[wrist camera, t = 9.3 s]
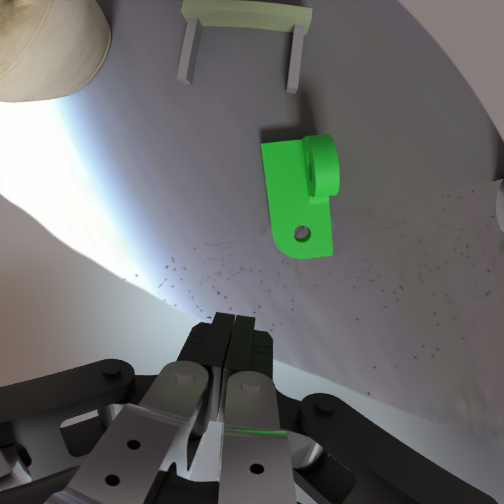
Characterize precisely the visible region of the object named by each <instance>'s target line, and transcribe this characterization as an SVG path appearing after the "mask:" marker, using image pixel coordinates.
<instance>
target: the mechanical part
mask: <svg viewBox="0 0 504 504" xmlns="http://www.w3.org/2000/svg"><path fill="white" fill-rule="evenodd" d="M261 148H262V155H263V163H264V171H265V178H266V186H267V194H268V202H269V210H270V218H271V227H272V235H273V239H274V241H275V244H276V245H277V247H278V248H279V249H280V250H281V251H282V252H283V253H284V254H286V255H288V256H290V257H292V258H297V259H306V258H314V257H323V256H331V255H333V248H332V234H331V221H330V209H329V196H332V195H337V193H338V190H339V179H340V177H339V162H338V156H337V151H336V147H335V144H334V141H333V139H332V137H331V136H330V135H329V134H325V135H312V136H305V137H304V138H303V139H302V140H291V141H282V142H272V143H264V144H261ZM300 225H305V226H307V227H308V228H309V232H308V235H307V236H306V237H305V238H302V239H298V238H296V237H294V235H293V233H294V230H295V228H296V227H298V226H300Z"/></svg>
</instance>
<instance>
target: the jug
mask: <svg viewBox="0 0 504 504" xmlns="http://www.w3.org/2000/svg"><path fill="white" fill-rule="evenodd" d="M110 44H111V30H110V27H109V24H108V22H107V20H106V18H105V16H104V14H103V12H102V10H101V8H100V7H99V5H98V4H97V2H96V0H0V101H1V102H29V101H39V100H49V99H55V98H59V97H64V96H68V95H70V94H72V93H74V92H76V91H78V90H79V89H80V88H82V87H83V86H85V85H86V84H87V83H88V82H89V81H90V80H91V79H92V78H93V77H94V75H95V74H96V73H97V72H98V70H99V69H100V67H101V66H102V64H103V62H104V61H105V59H106V56H107V54H108V51H109V48H110Z"/></svg>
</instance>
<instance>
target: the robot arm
mask: <svg viewBox="0 0 504 504" xmlns="http://www.w3.org/2000/svg"><path fill="white" fill-rule="evenodd" d="M496 214H497V220H498V223H499V226H500V228H501V230H502V232H503V233H504V179H503V181H502V183H501V185H500V188H499V190H498V195H497V201H496ZM254 326H255V317H248V316H241V315H237V316H236V320H235V315H233V314H227V313H220V312H216V314H215V317H214V319H213V322H212V324H210V323H204V322H200V323H199V324H198V325H196V326H194V327H193V328H192V330H191V332H190V334H189V336H188V338H187V340H186V342H185V344H184V346H183V348H182V350H181V352H180V354H179V356H178V358H177V361H175V362H172V363H169V364H167V365H166V366H165V367H164V368H163V369H162V370H161V372H160V374H158V375H135V372H134V369H133V367H132V366H131V365H130V364H129V363H127V362H125V361H122V360H118V359H105V360H101V361H97V362H94V363H90V364H87V365H84V366H80V367H77V368H73V369H69V370H66V371H62V372H58V373H55V374H51V375H47V376H43V377H40V378H36V379H32V380H28V381H24V382H20V383H16V384H12V385H8V386H3V387H0V504H301V503H299V502H297V501H296V493H295V486H294V482H295V483H296V484H297V485H298V486H299V487H300V488H301V489H303V490H304V491H305V492H306V493H307V494H308V495H309V496H310V497H311V498H312V499H313V500H314V501H316V502H317V503H318V504H498V503H497V502H496V501H495V500H494V499H493V498H492V497H491V496H489V495H487V494H485V493H484V492H482V491H480V490H478V489H477V488H475V487H473V486H471V485H470V484H468V483H466V482H464V481H463V480H461V479H459V478H458V477H456V476H454V475H453V474H451V473H449V472H448V471H446V470H444V469H443V468H441V467H440V466H438V465H436V464H435V463H433V462H432V461H430V460H429V459H427V458H425V457H424V456H422V455H421V454H419V453H417V452H416V451H414V450H413V449H411V448H410V447H408V446H407V445H405V444H404V443H402V442H401V441H399V440H398V439H396V438H395V437H393V436H392V435H391V434H389V433H387V432H386V431H385V430H383V429H382V428H380V427H379V426H377V425H376V424H374V423H373V422H372V421H370V420H369V419H367V418H365V417H364V416H363V415H362V414H360V413H359V412H357V411H356V410H355V409H353V408H352V407H350V406H349V405H348V404H346V403H345V402H344V401H342V400H341V399H339V398H337V397H335V396H333V395H330V394H325V393H314V394H311V395H308V396H306V397H305V398H304V399H303V400H302V401H298V400H295V399H292V398H289V397H287V396H285V395H283V394H282V393H280V392H279V391H278V390H277V389H276V388H275V384H274V382H273V339H272V337H271V336H270V335H269V333H268V332H265V331H258V330H254ZM219 408H220V411H219ZM96 409H97V412H98V416H97V417H94V418H91V419H88V420H85V421H82V422H79V423H76V424H73V425H70V426H67V427H63V428H60V425H61V423H62V422H63V421H65V420H66V419H69V418H73V417H76V416H79V415H82V414H85V413H88V412H91V411H94V410H96ZM218 412H219V422H222V423H223V427H222V436H221V446H220V458H219V470H218V481H213V482H212V481H211V482H194V481H190V480H189V479H190V476H191V474H192V471H193V468H194V466H195V463H196V460H197V458H198V455H199V452H200V450H201V447H202V444H203V441H204V438H205V432H206V430H207V427H208V423H209V421H215V422H216V421H217V417H218ZM331 455H332V456H333V457H332V456H331ZM337 460H338V461H339V462H338V461H337ZM342 464H343V465H344V466H343V465H342ZM347 468H348V469H349V470H348V469H347Z"/></svg>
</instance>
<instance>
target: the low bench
mask: <svg viewBox="0 0 504 504" xmlns="http://www.w3.org/2000/svg"><path fill="white" fill-rule="evenodd" d="M181 13H182V14H183V16H184V18H185V19H186V21H187V27H186V32H185V37H184V41H183V46H182V51H181V57H180V62H179V67H178V73H177V79H178V80H179V81H180V82H181V83H182V84H185V85H192V80H193V73H194V68H195V62H196V56H197V51H198V46H199V40H200V35H201V30H202V26H222V27H242V28H255V29H266V30H275V31H283V32H290V33H293V37H292V46H291V54H290V63H289V71H288V79H287V88H286V93H290V94H296V92H297V89H298V82H299V73H300V65H301V55H302V46H303V37H304V35H307V33H308V29H309V26H310V23H311V20H312V8H306V7H299V6H293V5H285V4H277V3H267V2H256V1H240V0H183V4H182V8H181Z"/></svg>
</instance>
